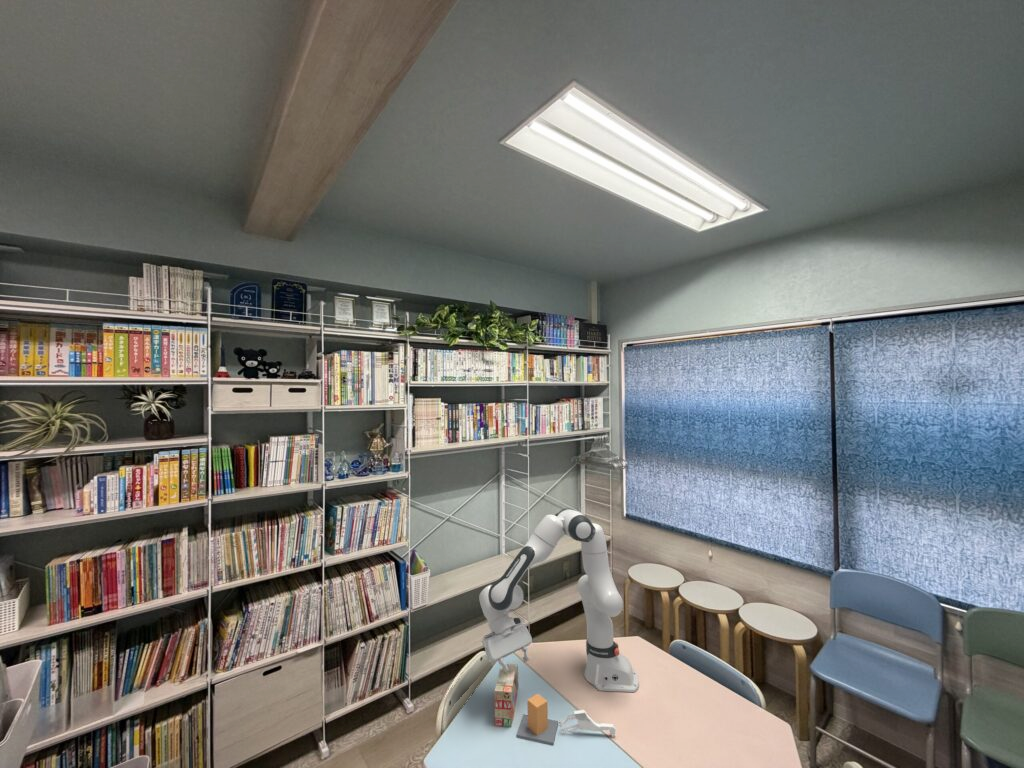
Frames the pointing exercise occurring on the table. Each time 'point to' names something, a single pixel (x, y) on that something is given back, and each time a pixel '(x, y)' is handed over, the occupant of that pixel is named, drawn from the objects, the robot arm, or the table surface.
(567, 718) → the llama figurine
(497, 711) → the stack of blocks
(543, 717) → the orange block
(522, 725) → the slate mat
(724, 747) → the table surface
